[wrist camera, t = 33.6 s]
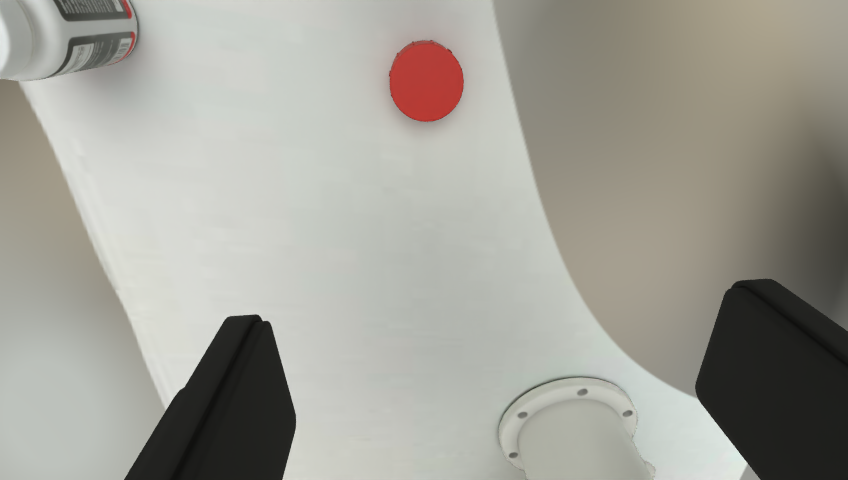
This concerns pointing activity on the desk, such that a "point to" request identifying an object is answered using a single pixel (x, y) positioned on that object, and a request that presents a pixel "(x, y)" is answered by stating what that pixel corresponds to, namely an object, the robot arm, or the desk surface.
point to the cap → (426, 81)
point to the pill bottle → (63, 36)
